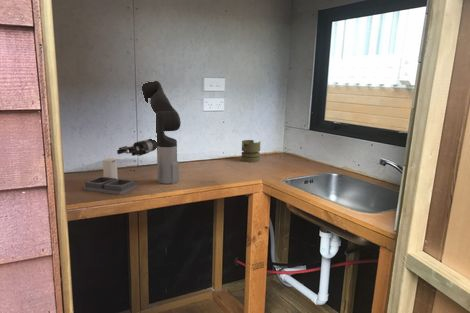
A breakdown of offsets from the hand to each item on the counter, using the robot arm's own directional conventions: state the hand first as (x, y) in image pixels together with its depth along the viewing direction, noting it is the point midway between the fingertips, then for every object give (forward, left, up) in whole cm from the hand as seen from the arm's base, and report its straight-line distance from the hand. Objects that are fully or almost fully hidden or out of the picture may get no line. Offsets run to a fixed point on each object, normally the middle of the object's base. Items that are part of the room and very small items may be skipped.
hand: (125, 152), depth 185 cm
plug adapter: (0, +12, -11) cm, 17 cm away
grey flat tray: (-9, +24, -11) cm, 28 cm away
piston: (-49, -59, -11) cm, 77 cm away
